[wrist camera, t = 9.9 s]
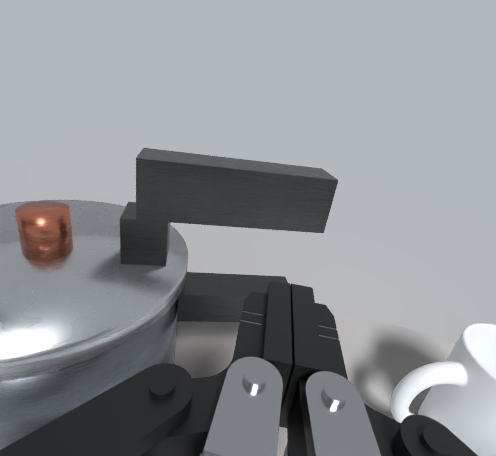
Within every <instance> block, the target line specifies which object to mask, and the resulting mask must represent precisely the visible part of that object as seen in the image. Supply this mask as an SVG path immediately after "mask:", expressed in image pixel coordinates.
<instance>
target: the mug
mask: <svg viewBox="0 0 496 456" xmlns="http://www.w3.org/2000/svg"><path fill="white" fill-rule="evenodd" d="M431 386H432V387H431ZM429 387H431V389H430V390H429V392H428V394H427V396H426V398H425V399H424V401H423V403H422V405H421V407H420V409H419V411H418V415H424V416H427V417H430V418H432V419H434V420H436V421H438V422H439V423H441V424H442V425H444V426H445V427H446V428H448V429H449V430H450V431H451V432H452V433H453V434H454V435H456V436H457V437H458V438H459V439H460V440H461V441H462V442H463V443H464V444H466V445H467V446H468V447H469V448H470V449H471V450H472V451H473V452H474V453H476V454H477V455H478V456H496V325H493V324H485V323H478V324H472V325H469V326H468V327H466V328H465V329H464V330H463V332H462V334H461V336H460V337H459V339H458V341H457V343H456V344H455V346H454V348H453V350H452V351H451V353H450V355H449V357H448V359H447V360H446V361H443V362H434V363H430V364H426V365H423V366H421V367H418V368H416V369H415V370H413V371H411V372H410V373H408V374H407V375H406V376H405V377H404V378H402V379H401V380H400V382H399V383H398V384H397V386H396V387H395V389H394V391H393V394H392V396H391V401H390V407H391V413H392V415H393V417H394V419H395V420H396V421H397V422H399V423H402V421H403V420H404V419H405V418H406V417H407V416H409V415H416V414H413V413H410V412H409V406H410V403H411V402H412V400H413V399H414V398H415V397H416V395H418V394H419V393H420V392H421V391H423V390H424V389H426V388H429Z"/></svg>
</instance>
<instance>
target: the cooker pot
mask: <svg viewBox="0 0 496 456" xmlns="http://www.w3.org/2000/svg"><path fill="white" fill-rule="evenodd" d="M269 280H273V281H279V282H284V283H288V282H287V280H286V278H285V277H280V276H259V275H237V274H214V273H192V272H187V275H186V281H185V284H184V287H183V289H182V292H181V294H180V295H179V297H178V299H177V300H176V302H175V303H174V304H173V305H172V307H171V308H170V309H169V310H168V311H167V312H166V313H165V314H164V315H163V316H162V317H161V318H160V319H159V320H158V321H156V322H155V323H154V324H153V325H152V326H150V327H149V328H147V329H146V330H145V331H143V332H142V333H140V334H139V335H137V336H136V337H134V338H132V339H131V340H129V341H127V342H125V343H123V344H121V345H120V346H118V347H116V348H114V349H112V350H110V351H107V352H105V353H103V354H101V355H98V356H96V357H94V358H91V359H89V360H86V361H83V362H80V363H77V364H74V365H71V366H68V367H65V368H62V369H59V370H55V371H51V372H47V373H43V374H39V375H35V376H31V377H27V378H21V379H14V380H8V381H2V382H0V450H1V449H3V448H5V447H7V446H8V445H10V444H12V443H14V442H15V441H17V440H19V439H21V438H23V437H24V436H26V435H28V434H30V433H32V432H33V431H35V430H37V429H39V428H41V427H42V426H44V425H46V424H48V423H49V422H51V421H53V420H55V419H57V418H58V417H60V416H62V415H64V414H66V413H67V412H69V411H71V410H73V409H74V408H76V407H78V406H80V405H82V404H83V403H85V402H87V401H89V400H91V399H92V398H94V397H96V396H98V395H99V394H101V393H103V392H105V391H107V390H108V389H110V388H112V387H114V386H116V385H117V384H119V383H121V382H123V381H124V380H126V379H128V378H130V377H132V376H133V375H135V374H137V373H139V372H141V371H142V370H144V369H146V368H148V367H150V366H153V365H156V364H161V363H169V364H174V353H175V339H176V325H177V321H209V322H240V320H241V315H242V310H243V305H244V300H245V298H246V297H247V296H248V295H249V294H250V293H251V292H252V291H254V292H259V293H264V294H266V292H267V287H268V283H269Z"/></svg>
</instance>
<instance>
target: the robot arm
mask: <svg viewBox="0 0 496 456" xmlns="http://www.w3.org/2000/svg"><path fill="white" fill-rule="evenodd" d="M338 338H339V337H338V333H337V330H336V324H335V319H334V316H333V314H332V313H331V312H330V310H329V309H328V308H327V306H326V305H322V304H317V303H314V295H313V289H312V288H311V287H306V286H300V285H295V284H291V285H290V284H289V283H284V282H279V281H273V280H269V283H268V287H267V292H266V294H264V293H259V292H254V291H252V292H251V293H250V294H249V295H248V296H247V297H246V298H245V300H244V305H243V310H242V315H241V320H240V325H239V330H238V335H237V340H236V346H235V351H234V356H233V359H232V361H231V363H230V365H229V366H228V367H227V368H226V369H225V370H224V371H222V372H221V373H219V374H217V375H214V376H210V377H203V378H193V379H192V378H191V376H190V375H189V373H188V372H187V371H186V370H185V369H183V368H182V367H180V366H178V365H175V364H169V363H161V364H156V365H153V366H150V367H148V368H146V369H144V370H142V371H141V372H139V373H137V374H135V375H133V376H132V377H130V378H128V379H126V380H124V381H123V382H121V383H119V384H117V385H116V386H114V387H112V388H110V389H108V390H107V391H105V392H103V393H101V394H99V395H98V396H96V397H94V398H92V399H91V400H89V401H87V402H85V403H83V404H82V405H80V406H78V407H76V408H74V409H73V410H71V411H69V412H67V413H66V414H64V415H62V416H60V417H58V418H57V419H55V420H53V421H51V422H49V423H48V424H46V425H44V426H42V427H41V428H39V429H37V430H35V431H33V432H32V433H30V434H28V435H26V436H24V437H23V438H21V439H19V440H17V441H15V442H14V443H12V444H10V445H8V446H7V447H5V448H3V449H1V450H0V456H276V453H277V442H278V432H279V426H280V427H285V428H287V432H288V442H287V445H286V448H285V451H284V456H478V455H477V454H476V453H474V452H473V451H472V450H471V449H470V448H469V447H468V446H467V445H466V444H464V443H463V442H462V441H461V440H460V439H459V438H458V437H457V436H456V435H454V434H453V433H452V432H451V431H450V430H449V429H448V428H446V427H445V426H444V425H442V424H441V423H439V422H438V421H436V420H434V419H432V418H430V417H427V416H424V415H418V414H416V415H409V416H407V417H406V418H405V419H404V420H403V421H402V423H399V422H397V421H395V420H393V419H391V418H389V417H387V416H385V415H383V414H381V413H379V412H377V411H375V410H373V409H372V408H370V407H369V406H367V405H366V404H365V403H364V402H363V399H362V397H361V395H360V393H359V391H358V390H357V388H356V387H355V386H354V385H353V384H352V383H351V382H350V381H349V380H348V378H347V374H346V369H345V365H344V360H343V356H342V351H341V346H340V342H339V340H338Z"/></svg>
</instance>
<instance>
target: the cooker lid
mask: <svg viewBox="0 0 496 456" xmlns="http://www.w3.org/2000/svg"><path fill="white" fill-rule="evenodd" d="M337 183H338V180H337V179H336V178H334V177H333V176H332V175H330V174H329V173H327V172H326V171H325V170H323V169H321V168H320V169H319V168H311V167H303V166H294V165H286V164H277V163H269V162H260V161H251V160H242V159H234V158H226V157H217V156H209V155H200V154H191V153H183V152H174V151H166V150H157V149H148V148H143V149H142V151H141V152H140V154H139V155H138V156H137V158H136V203H135V202H128V204H127V206H121V205H116V204H110V203H103V202H94V201H79V200H43V201H29V202H18V203H10V204H2V205H0V382H2V381H8V380H14V379H21V378H27V377H31V376H35V375H39V374H43V373H47V372H51V371H55V370H59V369H62V368H65V367H68V366H71V365H74V364H77V363H80V362H83V361H86V360H89V359H91V358H94V357H96V356H98V355H101V354H103V353H105V352H107V351H110V350H112V349H114V348H116V347H118V346H120V345H121V344H123V343H125V342H127V341H129V340H131V339H132V338H134V337H136V336H137V335H139V334H140V333H142V332H143V331H145V330H146V329H147V328H149V327H150V326H152V325H153V324H154V323H155V322H156V321H158V320H159V319H160V318H161V317H162V316H163V315H164V314H165V313H166V312H167V311H168V310H169V309H170V308H171V307H172V305H173V304H174V303H175V302H176V300H177V299H178V297H179V295H180V294H181V292H182V289H183V287H184V284H185V281H186V275H187V263H188V250H187V246H186V243H185V241H184V239H183V238H182V236H181V235H180V234H179V232H178V231H177V230H176V229H175V228H173V227H172V226H171V225H170V222H174V223H189V224H202V225H203V224H204V225H218V226H231V227H245V228H259V229H273V230H287V231H301V232H315V233H324V230H325V226H326V222H327V219H328V215H329V212H330V208H331V204H332V201H333V197H334V193H335V190H336V186H337Z"/></svg>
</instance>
